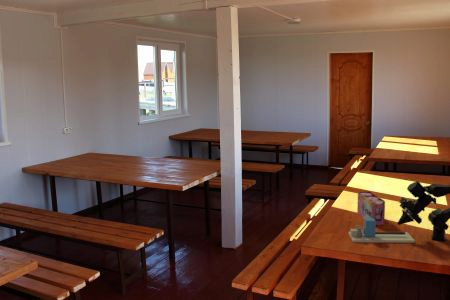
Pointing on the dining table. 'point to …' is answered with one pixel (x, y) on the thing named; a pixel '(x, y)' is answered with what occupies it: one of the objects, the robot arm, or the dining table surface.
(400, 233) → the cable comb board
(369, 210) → the gum box
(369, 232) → the blue block
